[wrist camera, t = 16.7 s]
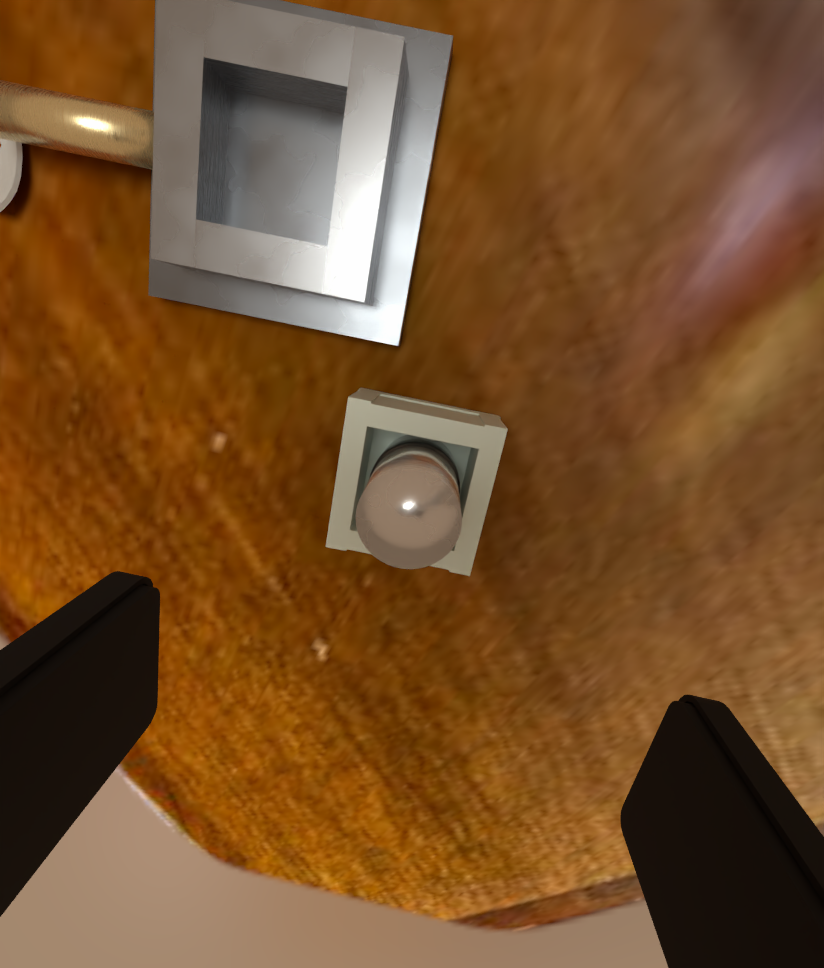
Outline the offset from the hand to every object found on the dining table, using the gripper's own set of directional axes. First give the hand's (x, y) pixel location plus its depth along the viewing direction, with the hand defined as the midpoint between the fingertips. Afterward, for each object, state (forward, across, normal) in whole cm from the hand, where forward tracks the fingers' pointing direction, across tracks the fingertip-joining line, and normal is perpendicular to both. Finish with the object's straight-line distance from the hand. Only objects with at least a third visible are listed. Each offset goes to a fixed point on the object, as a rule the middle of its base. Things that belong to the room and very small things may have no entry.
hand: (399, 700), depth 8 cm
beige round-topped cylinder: (+16, +1, +1) cm, 16 cm away
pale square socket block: (+17, +1, +1) cm, 17 cm away
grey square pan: (+17, +12, -11) cm, 24 cm away
